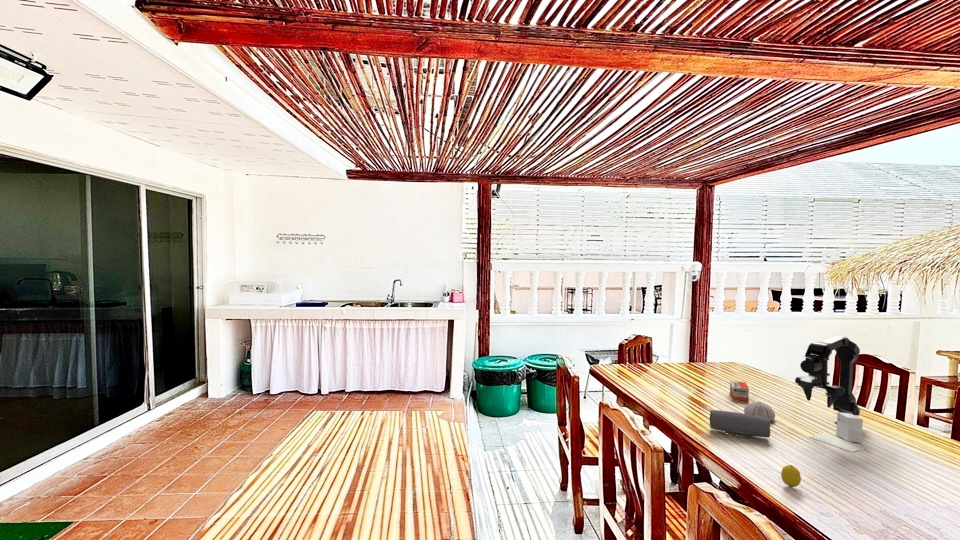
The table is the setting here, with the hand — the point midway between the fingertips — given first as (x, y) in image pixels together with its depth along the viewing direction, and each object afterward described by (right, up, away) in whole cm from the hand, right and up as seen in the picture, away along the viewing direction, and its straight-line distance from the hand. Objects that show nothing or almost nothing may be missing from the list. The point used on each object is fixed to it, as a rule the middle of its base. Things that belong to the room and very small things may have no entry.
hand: (818, 403), depth 192 cm
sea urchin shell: (-14, -14, +20) cm, 28 cm away
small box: (+9, -14, -5) cm, 18 cm away
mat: (+1, -14, -9) cm, 17 cm away
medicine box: (-5, -13, +51) cm, 53 cm away
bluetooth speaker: (-38, -14, -1) cm, 40 cm away
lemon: (-47, -15, -46) cm, 67 cm away
